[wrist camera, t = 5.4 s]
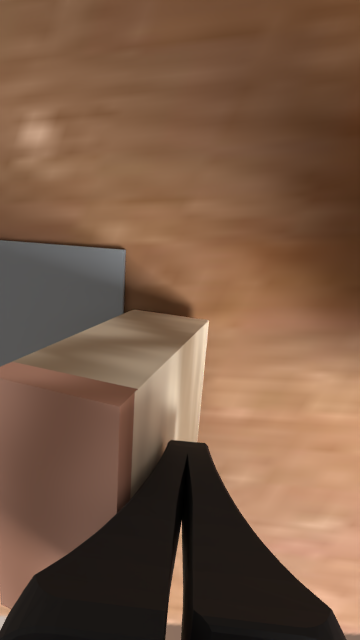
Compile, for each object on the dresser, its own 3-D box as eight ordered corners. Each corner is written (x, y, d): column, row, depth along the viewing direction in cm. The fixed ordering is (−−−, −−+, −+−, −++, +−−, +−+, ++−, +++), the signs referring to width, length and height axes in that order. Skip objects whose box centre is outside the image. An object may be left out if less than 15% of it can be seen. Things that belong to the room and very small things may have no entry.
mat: (125, 249, 17) (124, 249, 16) (118, 487, 20) (117, 491, 20) (-69, 234, 17) (-74, 234, 17) (-43, 470, 20) (-47, 473, 20)
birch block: (209, 320, 16) (119, 406, 8) (195, 462, 18) (112, 657, 10) (133, 309, 17) (-18, 374, 9) (128, 444, 19) (1, 604, 11)
